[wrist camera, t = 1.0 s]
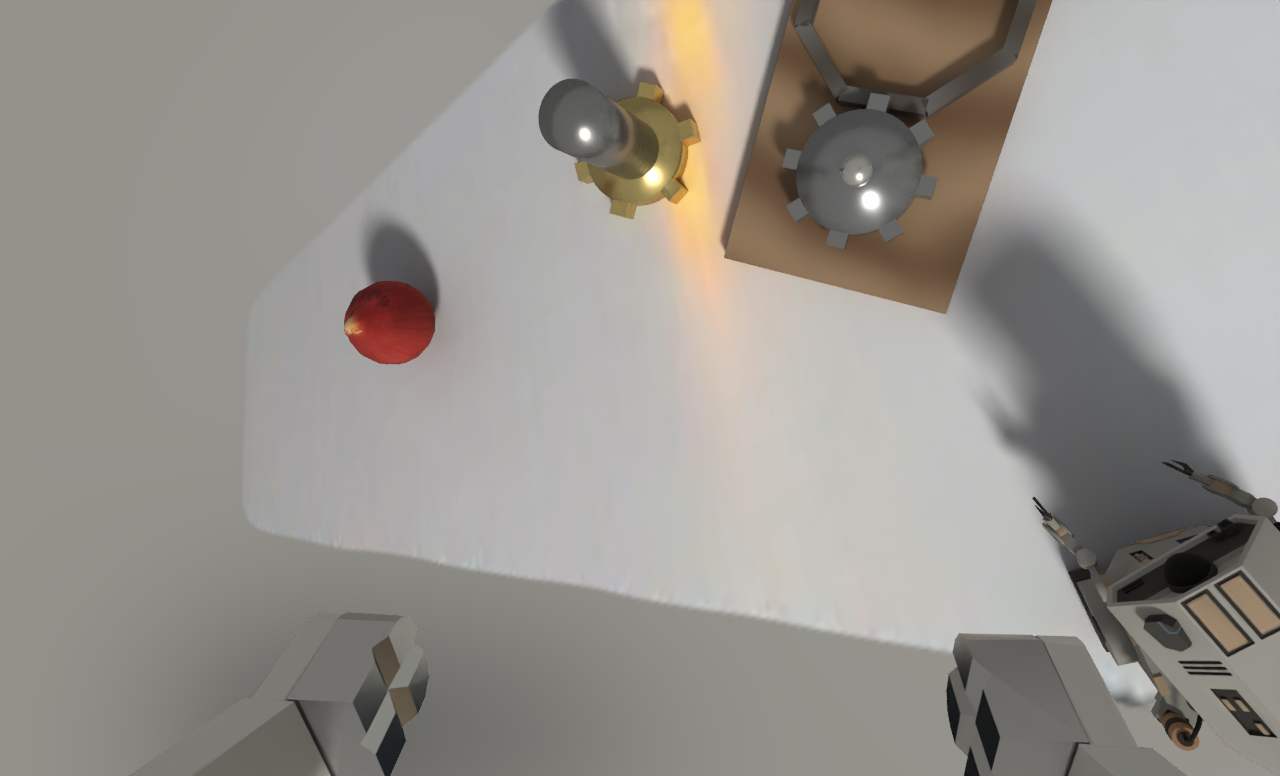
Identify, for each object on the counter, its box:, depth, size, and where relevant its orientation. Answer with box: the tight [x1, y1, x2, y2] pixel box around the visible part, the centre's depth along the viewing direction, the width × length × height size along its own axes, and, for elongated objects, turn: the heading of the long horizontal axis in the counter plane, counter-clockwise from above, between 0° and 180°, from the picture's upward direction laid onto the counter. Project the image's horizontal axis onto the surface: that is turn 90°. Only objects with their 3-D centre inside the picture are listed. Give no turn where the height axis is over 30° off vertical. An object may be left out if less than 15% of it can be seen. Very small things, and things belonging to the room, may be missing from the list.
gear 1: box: [539, 79, 701, 219], centre depth 41 cm, size 8×8×10 cm
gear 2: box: [782, 93, 938, 250], centre depth 38 cm, size 8×8×3 cm
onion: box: [344, 281, 435, 364], centre depth 49 cm, size 6×6×8 cm
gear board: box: [724, 0, 1052, 314], centre depth 38 cm, size 22×13×2 cm, turn 165°
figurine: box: [1032, 460, 1280, 776], centre depth 30 cm, size 9×12×15 cm
